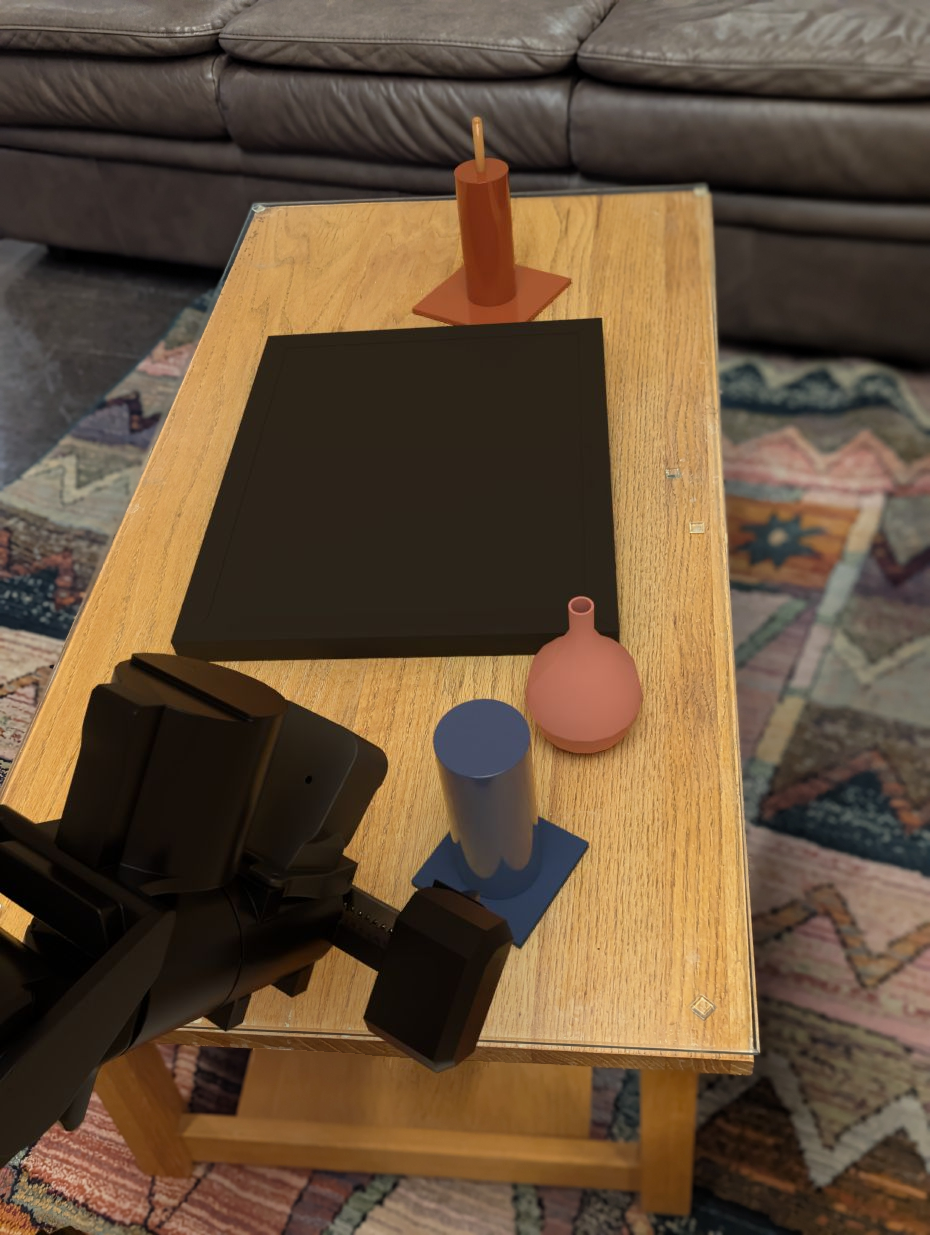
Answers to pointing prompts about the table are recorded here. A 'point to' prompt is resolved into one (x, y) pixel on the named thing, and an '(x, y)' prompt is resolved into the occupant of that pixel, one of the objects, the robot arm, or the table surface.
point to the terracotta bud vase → (583, 686)
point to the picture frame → (411, 498)
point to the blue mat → (529, 906)
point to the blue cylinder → (489, 796)
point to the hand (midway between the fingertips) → (397, 858)
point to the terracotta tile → (524, 307)
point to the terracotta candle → (486, 226)
